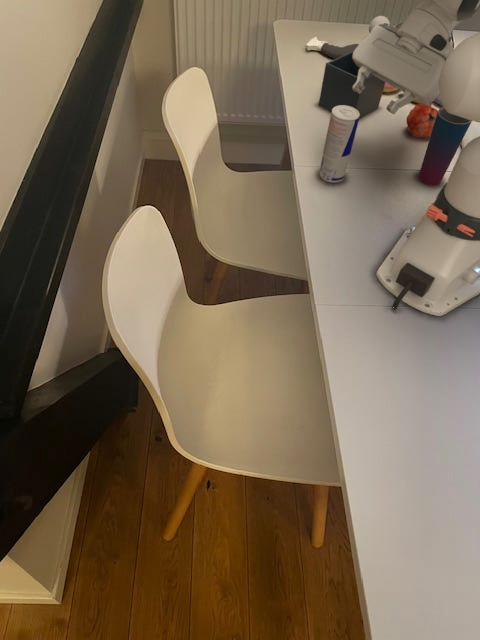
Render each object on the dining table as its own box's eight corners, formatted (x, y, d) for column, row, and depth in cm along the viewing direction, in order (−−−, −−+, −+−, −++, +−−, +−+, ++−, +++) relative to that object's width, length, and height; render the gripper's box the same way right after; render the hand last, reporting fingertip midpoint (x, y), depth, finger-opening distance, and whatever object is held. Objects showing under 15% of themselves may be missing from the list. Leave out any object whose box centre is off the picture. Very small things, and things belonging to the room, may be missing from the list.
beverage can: (343, 186, 108) (359, 121, 96) (317, 181, 108) (330, 116, 97) (345, 171, 111) (361, 106, 100) (320, 167, 112) (333, 102, 100)
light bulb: (386, 52, 151) (395, 16, 143) (378, 59, 147) (388, 22, 140) (368, 47, 152) (376, 10, 145) (360, 54, 149) (368, 17, 141)
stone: (401, 93, 135) (396, 99, 134) (402, 88, 134) (397, 94, 133) (433, 104, 131) (428, 110, 130) (434, 98, 130) (429, 104, 129)
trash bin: (352, 123, 124) (362, 80, 116) (318, 105, 129) (325, 63, 121) (378, 108, 130) (389, 66, 121) (344, 91, 134) (353, 50, 126)
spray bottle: (379, 75, 141) (300, 54, 148) (392, 60, 147) (314, 41, 154) (382, 64, 138) (301, 44, 146) (394, 50, 145) (316, 31, 152)
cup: (423, 190, 108) (449, 125, 97) (408, 171, 113) (431, 107, 101) (450, 186, 110) (479, 122, 98) (435, 167, 114) (461, 104, 102)
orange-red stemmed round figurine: (395, 137, 125) (413, 132, 116) (401, 106, 124) (419, 98, 114) (423, 141, 126) (443, 136, 117) (430, 110, 125) (450, 103, 115)
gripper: (375, 10, 100) (330, 72, 104) (458, 49, 90) (406, 116, 94) (384, 29, 105) (341, 87, 109) (464, 68, 96) (414, 131, 99)
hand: (372, 101), depth 101 cm, fingers open, 8 cm apart
